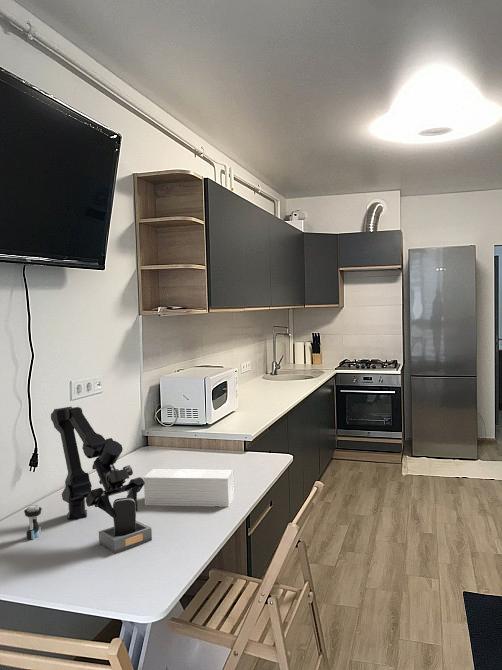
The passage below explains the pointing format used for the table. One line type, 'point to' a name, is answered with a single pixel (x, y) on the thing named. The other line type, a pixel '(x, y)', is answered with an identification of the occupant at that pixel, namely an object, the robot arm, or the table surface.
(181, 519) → the table surface
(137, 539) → the tray
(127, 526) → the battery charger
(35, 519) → the push button
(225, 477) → the stack of papers
